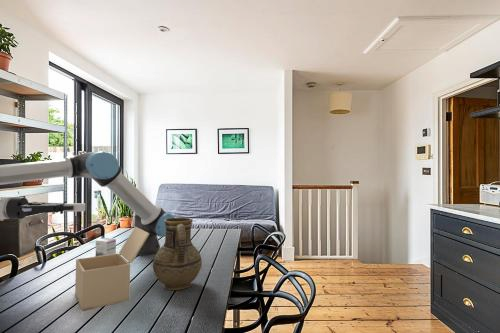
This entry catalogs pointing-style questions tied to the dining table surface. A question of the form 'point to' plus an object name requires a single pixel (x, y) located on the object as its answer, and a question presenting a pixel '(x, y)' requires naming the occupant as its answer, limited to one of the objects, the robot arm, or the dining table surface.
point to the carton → (102, 281)
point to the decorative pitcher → (177, 256)
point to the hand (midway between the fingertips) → (84, 207)
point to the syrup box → (105, 246)
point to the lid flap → (133, 244)
